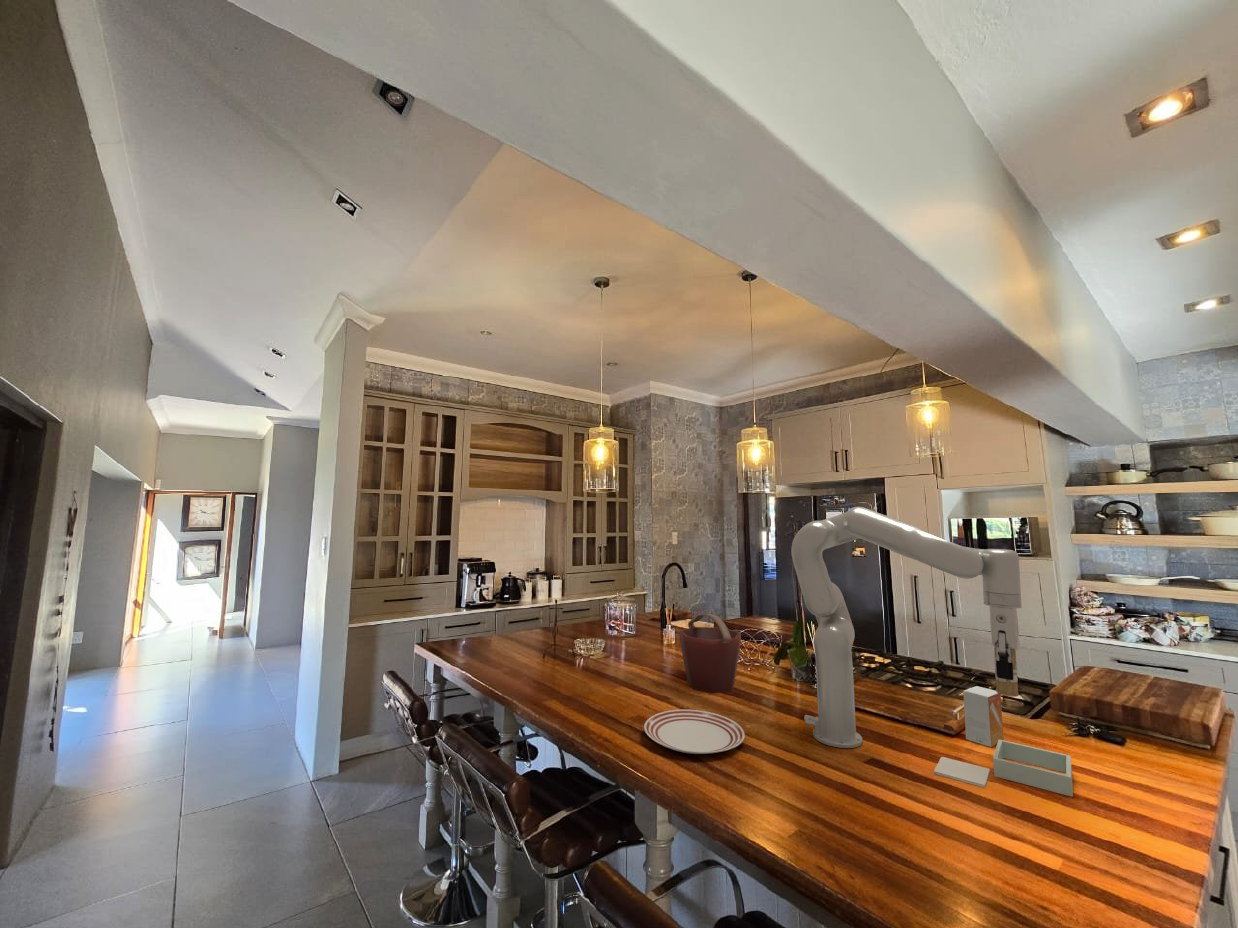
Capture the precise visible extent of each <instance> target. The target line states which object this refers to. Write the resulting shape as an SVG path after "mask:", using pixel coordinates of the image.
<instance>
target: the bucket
mask: <svg viewBox="0 0 1238 928" xmlns="http://www.w3.org/2000/svg"><path fill="white" fill-rule="evenodd" d="M704 617H708V618H709V619H712V620H713V621H714V623H715V624H716V625H717V627H714V626H713V627H712V626H711V627H710V626H709V627H708V626H707V627H706V626H696V625H695V623H697V622H699V621H700V620H702V619H703V618H704ZM687 626H688V628H686V629H682V630H679V632H678V633H679V635H678V637H679V643H680V648H681V653H682V659H683V665H684V669H685V675H686V680H687V683H688V685H689V686H690V687H691V689H692V690H694V691H699V692H703V693H709V694H717V693H718V694H719V693H727V692H728V693H729V692H732V691H733V689H734V687H735V682H736V681H735V680H736V676H737V669H738V662H739V657H740V651H741V650H740V649H741V644H742V632H741V631H736V630H733V629H729V628H728V626H727V625H726V623H725V622H724V621H723V620H722V619H721V618H720V616H718V615H716V614H713V613H699V614H696V615H695V616H694V617H693V618H691V620H689V621H688V623H687Z"/></svg>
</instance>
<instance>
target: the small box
mask: <svg viewBox="0 0 1238 928" xmlns="http://www.w3.org/2000/svg"><path fill="white" fill-rule="evenodd" d="M962 694H963V708H964V710H963V711H964V725H965V726H964V727H965V728H964V729H965V730H964V731H965V739H966V740H968V741H971V742H974V743H977V744H979V745H983V746H987V747H990V748H992V747H994V746H997V743H998V740H1004V725H1003V723H1004V722H1003V710H1002V695H1001V694H999V693H997V692H996V689H995V690H994V689H990V688H986V687H982V686H978V685H976V686H973V687H969V688H967V689H965V690H963V693H962ZM1004 741H1005V740H1004Z"/></svg>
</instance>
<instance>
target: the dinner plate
mask: <svg viewBox="0 0 1238 928" xmlns="http://www.w3.org/2000/svg"><path fill="white" fill-rule="evenodd" d="M643 730H644V732H645V734H646V735H647V736H648V737H649V738H650V739H651V740H652V741H654V742H655V743H657V744H658V745H661V746H663V747H665V748H668V749H670V750H673V751H676V752H681V753H685V754H691V755H692V754H693V755H707V754H716V753H721V752H726V751H729V750H732V749H735V748H737V747H738V746H740V745H742V743H743V742H744V740H745V736H746V733H745V731H744V729H743V728H742V726H741V725H740V724H739V723H737V722H736V721H734V720H732V719H731V718H728V717H726V716H723V715H721V714H717V713H714V712H709V711H705V710H696V709H672V710H666V711H662V712H659V713H656V714H654V715H652V716H650V717H649V718H648V719H647V720H646V721H645V722H644V725H643Z"/></svg>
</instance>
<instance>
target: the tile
mask: <svg viewBox="0 0 1238 928" xmlns="http://www.w3.org/2000/svg"><path fill="white" fill-rule="evenodd" d="M990 773H991V769H990V768H988V767H983V766H980V765H975V764H971V763H969V762H964V761H962V760H961V761H960V760H956V759H953V758H949V757H945V756H941V757H940V758H939V761H938V762H937V764H936V766H935V768H934V770H933V774H934V775H938V776H941V777H944V778H948V779H952V780H956V781H958V782H963V783H966V784H969V785H974V786H976V787H981V788H985V789H986V786H987V782H988V780H989V777H990Z"/></svg>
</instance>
